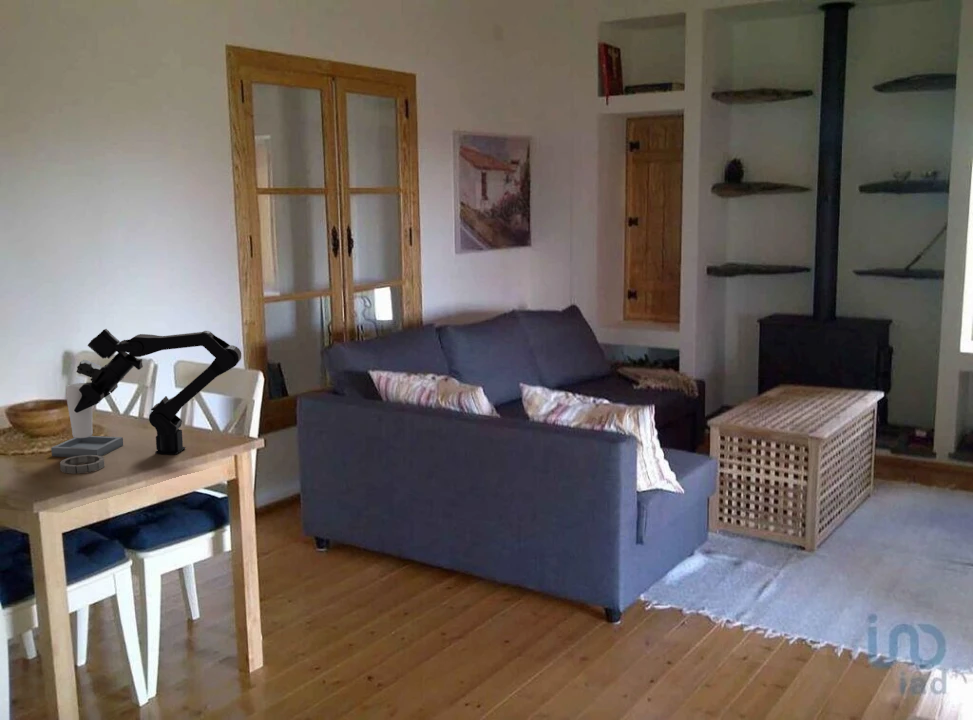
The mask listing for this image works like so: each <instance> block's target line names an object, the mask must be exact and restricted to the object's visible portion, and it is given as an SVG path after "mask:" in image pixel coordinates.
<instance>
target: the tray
mask: <svg viewBox="0 0 973 720" xmlns="http://www.w3.org/2000/svg"><path fill="white" fill-rule="evenodd" d="M123 446H124V437H122V436H102V435H101V436H100V435H92V436H90V437H87V438H74V437H73V438H70V439H68V440H66V441H64V442H63V441H62V442H61V443H59V444H56V445H54V446H51V448H50V451H51V457H59V458H60V457H63V458H64V457H65V458H70V457H74V456H81V455H99V456H102V457H104V456H105V455H108V454H109V453H111V452H113V451H115V450H117V449H119V448H121V447H123Z"/></svg>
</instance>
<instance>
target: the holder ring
mask: <svg viewBox="0 0 973 720" xmlns="http://www.w3.org/2000/svg"><path fill="white" fill-rule="evenodd" d="M59 466H60V467H59V468H60V472H63V473H64V474H75V475H76V474H77V473H78V474H86V473H85V472H88V473H92V472H91V471H93V472H96V471H95V470H97V471H100V470H101V468H102V469H103V468H105V457H104V456H99V455H81V456H74V457H65V459H62V460H61V461H60V462H59ZM99 469H100V470H99Z"/></svg>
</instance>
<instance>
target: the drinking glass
mask: <svg viewBox="0 0 973 720" xmlns="http://www.w3.org/2000/svg"><path fill="white" fill-rule="evenodd" d="M85 383H86V382H77V383H71V384H68V385H66V386H65V395H66V396H65V397H66V404H67V409H68V415H69V420H70V426H71V433H72V437H73V438H87V437H90V436H93V433H94V431H93V406H91V407H89V408H87V409H84V410H82V411H80V412H78V413H76V412H75V411H74V409H75V408H76V406H77V404H78V402H79V401H80V399H81V397H82V394H81V392H80V391H79V389H80V388H81V387H82V386H83V385H84V384H85Z"/></svg>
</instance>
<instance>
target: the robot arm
mask: <svg viewBox="0 0 973 720" xmlns="http://www.w3.org/2000/svg"><path fill="white" fill-rule="evenodd" d="M87 347H88V348H90V349H91V350H92V351H93V352H94V353H95V354H97V355H98V356H99V357H100V358H101V359H102V360H103V359H110V358H111V357H113V358H112V359H111V360H110V361H108V363H107V364H105V365H104V366H102V365H99V364H97V363H95V362H93V361H90V360H88V359H82V360H81V361H80V362H79V364H78V365H77V366H76V367H77V368H76V373H77V374H79V375H84V376H86V377H88V378H90V379H89V380H90V381H89V382H84V383H85V384H84V385H83V386H82V387H81V388H80V389H79V391H80V392H81V394H82V397H81V399H80V401H79V402H78V404H77V406H76V408H75V409H74V411H75V412H76V413H78V412H80V411H82V410H84V409H87V408H89V407H91V406H92V407H93V406H95V405H98V404H100V403H101V401H103V400H104V398H106V397H108V396H109V395H110V394H112V393H114V391H115V390H116V389H117V388H118V385H119V383H120V382H121V381H123V379H124V378H125V376H126V375H128V373H129V372H130V371H131V370H132V369H133V368H135V369H136V370H141V369H142V368H143V366H144V365H143V358H141V357H144V356H148V355H151V354H155V353H157V352H159V351H167V350H174V349H175V350H176V349H185V348H193V347H194V348H195V347H196V348H197V347H203V348H204V349H205V350H207V351H208V352H209V354H211V355H212V356H213V357H214V360H212V362H211V363H210V365H209V366H207V368H206V369H204V370H203V371H202V372H201V373H200V374H199V375H197V376H196V377H195V378H194V379H193V380H192V381H190V383H188V384H187V385H186V386H185V387H184V388H183V389H181V390H180V391H179V392H178V393H177V394H176V395H175V396H173V397H171V398H168V396H164V397H163V398H162V399H161V400H160V401H159V402H158V403H156V404H155V405H154V406H153V407H152V408H151V409H150V410H151V412H150V413H149V415H148V420H149V424H150V425H151V426H152V427H153V428H154V429H155V431H156V436H155V445H156V446H155V449H156V450H155V454H158V455H159V454H161V455H177V454H179V453H181V452H183V451H184V450H186V449H185V448H186V446H184V443H183V429H180V428H181V426H182V423H183V419H181V418H180V417H179V416H178V415H177V414H179V412H180V411H181V409H182V408H183V407H184V406H185V405H187V403H188V402H189V401H191V400H192V399H193V398H194V397H195V396H197V394H199V393H200V392H201V391H202V390H204V388H206V387H207V386H208V385H209V384H210V383H211V382H212V381H214V380H215V379H216V378H217V377H219V376H221V375H223V374H224V373H227V372H228V371H229V370H230V371H231V370H232V369H233V368H234V367H236V366H237V365H238V363H239V362H240V361H241V359H242V351H241V350H240V348H239V347H238V346H236V345H232V344H231V345H230V344H229V343H228V342H226V341H225V340H223V339H221V338H220V337H218V336H216V335H215V334H214V333H213V332H212V331H210V330H203V331H198V332H189V333H187V332H186V333H179V334H178V333H177V334H172V335H156V334H145V333H140V334H136V335H135V336H133V337H132V338H129V339H123V340H121V341H120V340H119V339H117V338H116V336H114V335H113V334H112V333H111V332H110V331H109V330H108V329H107V328H105V329H103V330H102V331H101V332H100V333H99V334H97V335H96V336H95V337H93V338H92V340H90V341H89V343H88V344H87ZM183 449H184V450H183ZM182 450H183V451H182ZM180 451H181V452H180ZM178 452H179V453H178Z"/></svg>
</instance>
